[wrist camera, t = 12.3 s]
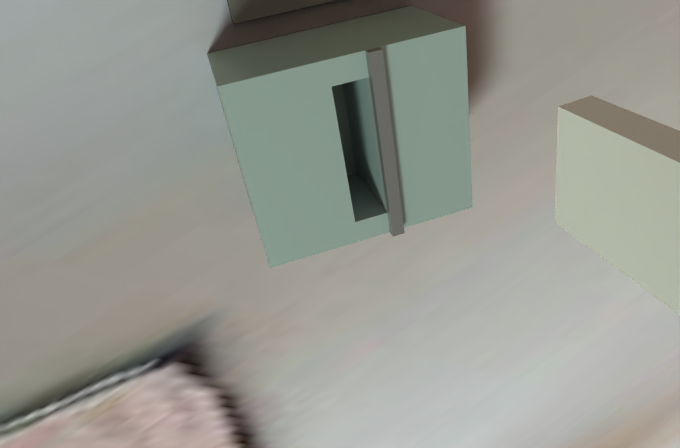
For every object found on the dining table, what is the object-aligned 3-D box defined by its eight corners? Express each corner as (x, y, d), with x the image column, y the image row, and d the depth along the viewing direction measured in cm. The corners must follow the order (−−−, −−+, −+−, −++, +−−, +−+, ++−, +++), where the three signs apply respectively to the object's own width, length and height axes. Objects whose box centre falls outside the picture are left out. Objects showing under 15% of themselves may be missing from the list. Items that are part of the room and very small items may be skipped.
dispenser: (252, 210, 41) (271, 272, 34) (207, 53, 35) (218, 89, 28) (424, 162, 44) (476, 211, 36) (411, 5, 37) (470, 27, 30)
